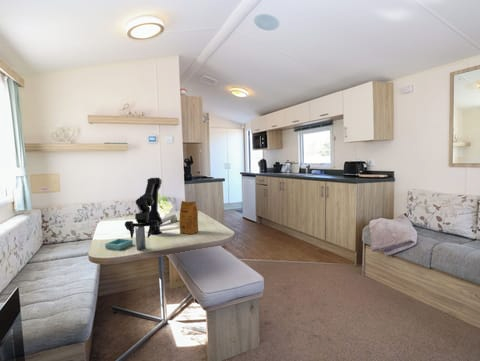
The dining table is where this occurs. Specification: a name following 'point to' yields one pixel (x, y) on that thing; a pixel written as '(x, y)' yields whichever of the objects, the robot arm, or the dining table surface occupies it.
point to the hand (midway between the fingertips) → (139, 237)
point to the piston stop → (140, 238)
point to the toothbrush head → (170, 218)
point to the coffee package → (188, 218)
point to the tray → (119, 244)
